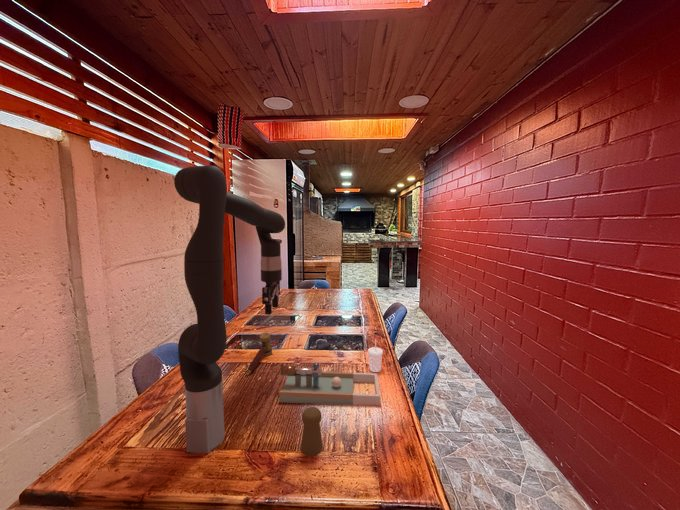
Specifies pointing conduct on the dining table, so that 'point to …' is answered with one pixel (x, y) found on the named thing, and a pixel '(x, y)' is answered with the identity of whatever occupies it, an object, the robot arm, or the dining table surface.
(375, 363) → the beverage cup
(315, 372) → the rod
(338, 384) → the ball
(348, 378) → the pitch board
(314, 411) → the pepper mill
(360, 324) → the dining table surface
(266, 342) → the gavel
